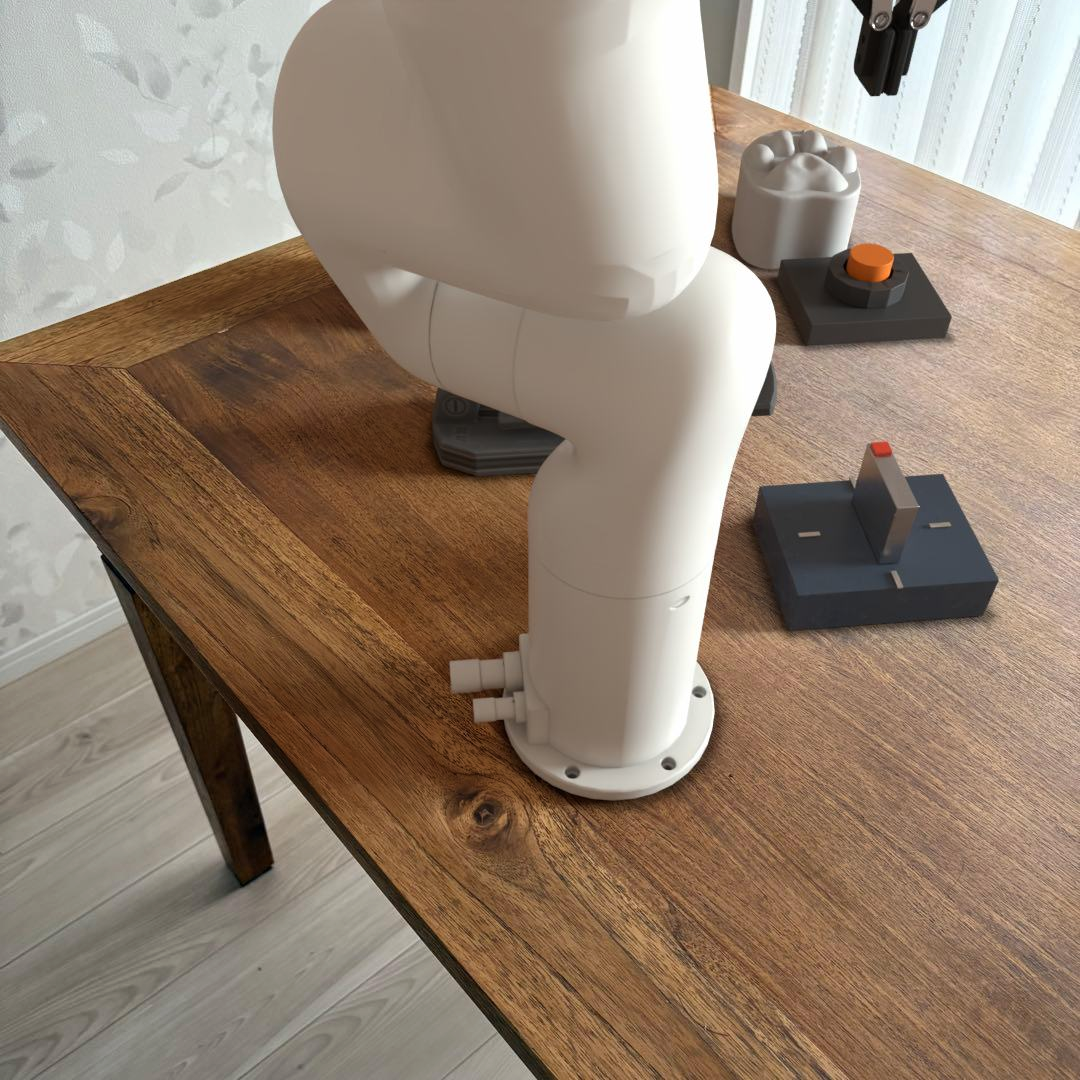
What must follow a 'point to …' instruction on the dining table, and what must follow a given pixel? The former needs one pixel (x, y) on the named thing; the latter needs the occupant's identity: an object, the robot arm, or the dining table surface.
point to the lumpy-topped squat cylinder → (794, 198)
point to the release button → (869, 263)
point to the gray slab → (884, 503)
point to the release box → (861, 302)
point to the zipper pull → (514, 434)
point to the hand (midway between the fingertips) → (876, 86)
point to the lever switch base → (869, 558)
